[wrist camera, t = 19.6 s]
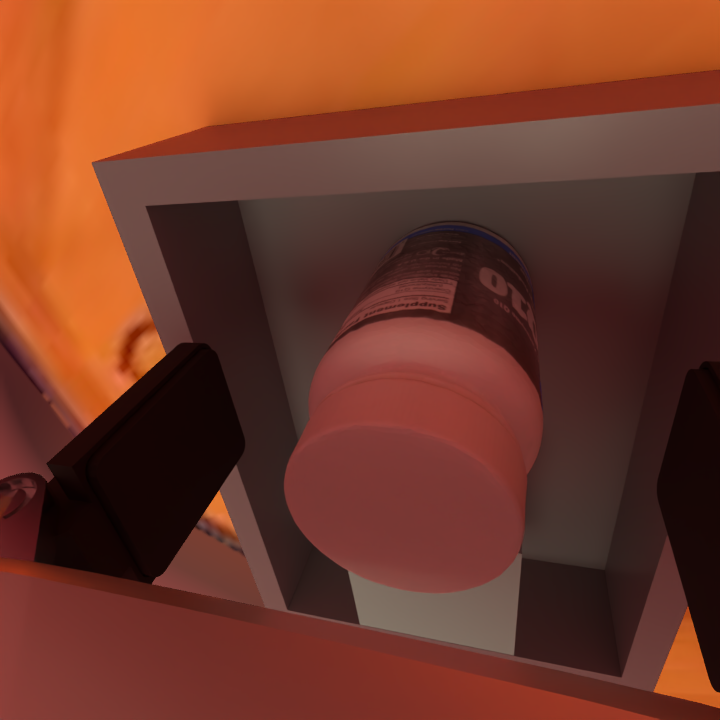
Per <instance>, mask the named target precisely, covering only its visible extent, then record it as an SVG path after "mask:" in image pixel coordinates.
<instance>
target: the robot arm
mask: <svg viewBox="0 0 720 720" xmlns="http://www.w3.org/2000/svg"><path fill="white" fill-rule="evenodd" d="M244 450H245V437H244V434H243V431H242V428H241V425H240V422H239V419H238V416H237V413H236V410H235V407H234V403H233V400H232V397H231V394H230V391H229V388H228V385H227V382H226V379H225V376H224V373H223V370H222V367H221V363H220V360H219V357H218V355H217V353H216V352H215V351H214V350H212V349H211V347H210V346H209V345H208V344H206V343H188V342H184V343H180V344H178V345H177V346H176V347H175V348H174V349H173V350H172V351H170V352H169V353H168V354H167V355H166V356H165V357H164V358H163V359H162V360H160V361H159V362H158V363H157V364H156V365H155V366H154V367H153V368H152V369H151V370H149V371H148V372H147V373H146V374H145V375H144V376H143V377H142V378H141V379H139V380H138V381H137V382H136V383H135V384H134V385H133V386H132V387H131V388H129V389H128V390H127V391H126V392H125V393H124V394H123V395H122V396H121V397H120V398H118V399H117V400H116V401H115V402H114V403H113V404H112V405H111V406H110V407H108V408H107V409H106V410H105V411H104V412H103V413H102V414H101V415H100V416H98V417H97V418H96V419H95V420H94V421H93V422H92V423H91V424H90V425H89V426H87V427H86V428H85V429H84V430H83V431H82V432H81V433H80V434H79V435H77V436H76V437H75V438H74V439H73V440H72V441H71V442H70V443H69V444H68V445H67V446H65V447H64V448H63V449H62V450H61V451H60V452H59V453H57V454H56V455H55V456H54V457H53V458H52V459H51V460H50V461H49V462H48V463H47V465H48V467H49V468H50V470H51V472H52V473H53V475H54V478H53V479H52V480H51V481H50V482H49V483H47V481H46V480H45V478H44V477H43V476H42V475H40V474H37V473H33V472H28V473H19V474H16V475H12V476H8V477H6V478H3V479H1V480H0V720H720V709H719V708H716V707H712V706H708V705H705V704H701V703H697V702H693V701H688V700H684V699H680V698H676V697H671V696H667V695H663V694H658V693H654V692H650V691H645V690H641V689H637V688H632V687H628V686H624V685H620V684H615V683H611V682H607V681H602V680H598V679H594V678H589V677H585V676H581V675H576V674H572V673H568V672H563V671H559V670H554V669H550V668H545V667H540V666H536V665H531V664H526V663H522V662H517V661H513V660H508V659H503V658H499V657H494V656H489V655H485V654H480V653H475V652H471V651H466V650H461V649H457V648H452V647H448V646H443V645H438V644H434V643H429V642H424V641H420V640H415V639H410V638H406V637H401V636H397V635H392V634H387V633H383V632H378V631H373V630H368V629H364V628H359V627H354V626H349V625H345V624H340V623H335V622H330V621H326V620H321V619H316V618H311V617H307V616H302V615H297V614H292V613H288V612H283V611H278V610H273V609H269V608H263V607H259V606H254V605H249V604H245V603H240V602H235V601H230V600H226V599H221V598H216V597H211V596H206V595H201V594H196V593H192V592H186V591H181V590H177V589H172V588H167V587H162V586H157V585H152V582H153V581H154V579H155V578H156V577H158V576H160V575H162V574H163V573H164V572H165V570H166V569H167V567H168V566H169V564H170V563H171V561H172V560H173V558H174V557H175V555H176V554H177V552H178V551H179V549H180V548H181V546H182V545H183V543H184V542H185V540H186V539H187V537H188V536H189V534H190V533H191V531H192V530H193V528H194V527H195V525H196V524H197V522H198V521H199V519H200V518H201V516H202V515H203V513H204V512H205V510H206V509H207V507H208V506H209V504H210V503H211V501H212V500H213V498H214V497H215V495H216V494H217V492H218V491H219V489H220V488H221V486H222V485H223V483H224V482H225V480H226V479H227V477H228V476H229V474H230V473H231V471H232V470H233V468H234V467H235V465H236V464H237V462H238V461H239V459H240V458H241V456H242V455H243V453H244ZM657 498H658V502H659V506H660V509H661V513H662V516H663V520H664V523H665V527H666V530H667V534H668V537H669V541H670V544H671V548H672V551H673V555H674V558H675V562H676V565H677V569H678V572H679V576H680V579H681V583H682V586H683V590H684V593H685V597H686V600H687V603H688V607H689V610H690V614H691V617H692V621H693V624H694V628H695V631H696V635H697V638H698V642H699V645H700V649H701V652H702V656H703V659H704V663H705V666H706V670H707V673H708V677H709V680H710V682H711V685H712V687H713V689H714V690H715V691H716V692H720V362H718V361H704V362H703V363H702V364H701V365H700V367H699V369H690V370H688V372H687V374H686V377H685V380H684V384H683V388H682V391H681V395H680V399H679V402H678V406H677V410H676V414H675V417H674V421H673V425H672V428H671V432H670V436H669V439H668V443H667V447H666V450H665V454H664V458H663V461H662V465H661V469H660V472H659V476H658V480H657Z"/></svg>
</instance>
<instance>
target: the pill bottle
mask: <svg viewBox="0 0 720 720" xmlns="http://www.w3.org/2000/svg"><path fill="white" fill-rule="evenodd" d="M308 406H309V418H310V419H309V421H308V423H307V425H306V427H305V429H304V431H303V433H302V435H301V437H300V439H299V441H298V443H297V445H296V447H295V449H294V451H293V453H292V455H291V457H290V459H289V462H288V464H287V468H286V472H285V478H284V492H285V498H286V502H287V505H288V508H289V510H290V513H291V515H292V517H293V519H294V521H295V523H296V524H297V526H298V527H299V529H300V530H301V531H302V533H303V534H304V535H305V537H306V538H307V539H308V540H309V541H310V542H311V543H312V544H313V545H314V546H315V547H316V548H317V549H318V550H319V551H321V552H322V553H323V554H324V555H326V556H327V557H328V558H330V559H331V560H332V561H334V562H335V563H337V564H338V565H339V566H341V567H343V568H345V569H346V570H348V571H350V572H352V573H354V574H356V575H358V576H360V577H362V578H365V579H367V580H369V581H372V582H375V583H378V584H382V585H386V586H388V587H392V588H396V589H401V590H405V591H412V592H420V593H433V594H434V593H454V592H458V591H464V590H468V589H471V588H475V587H478V586H481V585H483V584H485V583H487V582H489V581H491V580H493V579H495V578H497V577H498V576H500V575H501V574H502V573H503V572H504V571H505V570H506V569H507V568H508V567H509V566H510V565H511V564H512V563H513V562H514V560H515V558H516V556H517V554H518V553H519V550H520V548H521V545H522V542H523V537H524V530H525V503H526V490H527V474H528V473H529V471H530V469H531V468H532V466H533V464H534V462H535V460H536V458H537V455H538V452H539V449H540V445H541V440H542V433H543V404H542V390H541V382H540V370H539V357H538V342H537V330H536V317H535V303H534V294H533V287H532V282H531V279H530V276H529V272H528V270H527V268H526V266H525V264H524V262H523V260H522V259H521V257H520V256H519V254H518V253H517V252H516V250H515V249H514V248H513V247H512V246H511V245H510V244H509V243H508V242H506V241H505V240H504V239H502V238H501V237H499V236H498V235H496V234H494V233H492V232H490V231H488V230H486V229H484V228H481V227H479V226H476V225H472V224H468V223H461V222H444V223H436V224H432V225H428V226H424V227H421V228H419V229H416V230H414V231H412V232H410V233H408V234H407V235H405V236H404V237H402V238H401V239H399V240H398V241H397V242H396V243H395V244H394V245H393V246H392V247H391V248H390V249H389V250H388V251H387V252H386V254H385V255H384V256H383V258H382V259H381V261H380V262H379V264H378V266H377V267H376V269H375V271H374V273H373V275H372V276H371V278H370V280H369V281H368V283H367V285H366V287H365V288H364V290H363V292H362V293H361V295H360V297H359V298H358V300H357V302H356V304H355V305H354V307H353V308H352V310H351V312H350V313H349V315H348V317H347V318H346V320H345V322H344V323H343V325H342V327H341V329H340V330H339V331H338V333H337V335H336V337H335V338H334V340H333V342H332V343H331V345H330V347H329V348H328V350H327V351H326V353H325V355H324V356H323V358H322V360H321V361H320V363H319V365H318V367H317V369H316V371H315V374H314V377H313V380H312V383H311V387H310V391H309V399H308Z"/></svg>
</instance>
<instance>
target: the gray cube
mask: <svg viewBox="0 0 720 720" xmlns="http://www.w3.org/2000/svg"><path fill="white" fill-rule="evenodd" d="M521 560H522V545H521V548H520V550H519V553H518V554H517V556H516V558H515V560H514V562H513V563H512V564H511V565H510V566H509V567H508V568H507V569H506V570H505V571H504V572H503V573H502V574H501V575H500V576H498V577H497V578H495V579H493V580H491V581H489V582H487V583H485V584H483V585H481V586H478V587H475V588H471V589H468V590H464V591H458V592H454V593H434V594H433V593H420V592H412V591H405V590H401V589H396V588H392V587H388V586H386V585H382V584H378V583H375V582H372V581H369V580H367V579H365V578H362V577H360V576H358V575H356V574H354V573H352V572H350V571H348V573H349V577H350V582H351V586H352V591H353V595H354V600H355V604H356V609H357V613H358V618H359V622H360V625H365V626H370V627H375V628H380V629H385V630H390V631H395V632H400V633H405V634H410V635H415V636H419V637H424V638H429V639H434V640H439V641H444V642H449V643H454V644H459V645H464V646H469V647H474V648H479V649H484V650H489V651H494V652H499V653H504V654H509V655H514V648H515V635H516V623H517V610H518V598H519V585H520V573H521Z"/></svg>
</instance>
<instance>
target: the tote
mask: <svg viewBox="0 0 720 720" xmlns="http://www.w3.org/2000/svg"><path fill="white" fill-rule="evenodd" d="M92 165H93V168H94V170H95V173H96V175H97V178H98V180H99V183H100V186H101V188H102V191H103V193H104V196H105V198H106V201H107V203H108V206H109V209H110V211H111V214H112V216H113V219H114V221H115V224H116V227H117V229H118V232H119V234H120V237H121V239H122V242H123V244H124V247H125V250H126V252H127V255H128V257H129V260H130V262H131V265H132V267H133V270H134V273H135V275H136V278H137V280H138V283H139V285H140V288H141V290H142V293H143V296H144V298H145V301H146V303H147V306H148V308H149V311H150V313H151V316H152V319H153V321H154V324H155V326H156V329H157V331H158V334H159V337H160V339H161V342H162V344H163V347H164V349H165V352H166V354H168V353H169V352H170V351H172V350H173V349H174V348H175V347H176V346H177V345H178V344H180V343H184V342H188V343H206V344H208V345H209V346H210V347H211V349H212V350H214V351H215V352H216V353H217V355H218V357H219V360H220V363H221V367H222V370H223V373H224V376H225V379H226V382H227V385H228V388H229V391H230V394H231V397H232V400H233V403H234V407H235V410H236V413H237V416H238V419H239V422H240V425H241V428H242V431H243V434H244V437H245V450H244V453H243V455H242V456H241V458H240V459H239V461H238V462H237V464H236V465H235V467H234V468H233V470H232V471H231V473H230V474H229V476H228V477H227V479H226V480H225V482H224V483H223V485H222V486H221V488H220V489H219V490H220V493H221V495H222V498H223V500H224V503H225V505H226V508H227V510H228V513H229V516H230V518H231V521H232V523H233V526H234V528H235V531H236V533H237V536H238V539H239V541H240V544H241V546H242V549H243V551H244V554H245V556H246V559H247V562H248V564H249V567H250V569H251V572H252V574H253V577H254V580H255V582H256V585H257V587H258V590H259V592H260V595H261V597H262V600H263V603H264V605H265V608H269V609H273V610H278V611H283V612H288V613H292V614H297V615H302V616H307V617H311V618H316V619H321V620H326V621H330V622H335V623H340V624H345V625H349V626H354V627H359V628H364V629H368V630H373V631H378V632H383V633H387V634H392V635H397V636H401V637H406V638H410V639H415V640H420V641H424V642H429V643H434V644H438V645H443V646H448V647H452V648H457V649H461V650H466V651H471V652H475V653H480V654H485V655H489V656H494V657H499V658H503V659H508V660H513V661H517V662H522V663H526V664H531V665H536V666H540V667H545V668H550V669H554V670H559V671H563V672H568V673H572V674H576V675H581V676H585V677H589V678H594V679H598V680H602V681H607V682H611V683H615V684H620V685H624V686H628V687H632V688H637V689H641V690H645V691H650V692H653V691H654V689H655V686H656V684H657V681H658V679H659V676H660V674H661V671H662V669H663V666H664V664H665V661H666V659H667V656H668V654H669V651H670V649H671V646H672V644H673V641H674V639H675V636H676V634H677V631H678V629H679V626H680V624H681V621H682V619H683V616H684V614H685V611H686V609H687V606H688V603H687V600H686V597H685V593H684V590H683V586H682V583H681V579H680V576H679V572H678V569H677V565H676V562H675V558H674V555H673V551H672V548H671V544H670V541H669V537H668V534H667V530H666V527H665V523H664V520H663V516H662V513H661V509H660V506H659V502H658V498H657V480H658V476H659V472H660V469H661V465H662V461H663V458H664V454H665V450H666V447H667V443H668V439H669V436H670V432H671V428H672V425H673V421H674V417H675V414H676V410H677V406H678V402H679V399H680V395H681V391H682V388H683V384H684V380H685V377H686V374H687V372H688V370H690V369H699V367H700V365H701V364H702V363H703V362H704V361H718V362H720V70H713V71H704V72H695V73H686V74H677V75H668V76H659V77H650V78H641V79H632V80H623V81H614V82H605V83H596V84H587V85H578V86H569V87H560V88H551V89H542V90H533V91H524V92H515V93H506V94H497V95H488V96H479V97H470V98H461V99H452V100H443V101H434V102H425V103H416V104H407V105H398V106H389V107H380V108H371V109H362V110H353V111H344V112H335V113H326V114H317V115H308V116H299V117H290V118H281V119H272V120H263V121H253V122H244V123H235V124H226V125H217V126H208V127H204V128H201V129H198V130H195V131H191V132H188V133H185V134H182V135H179V136H175V137H172V138H169V139H166V140H163V141H159V142H156V143H153V144H150V145H146V146H143V147H140V148H137V149H134V150H130V151H127V152H124V153H121V154H117V155H114V156H111V157H108V158H105V159H101V160H98V161H95V162H92ZM444 222H461V223H468V224H472V225H476V226H479V227H481V228H484V229H486V230H488V231H490V232H492V233H494V234H496V235H498V236H499V237H501V238H502V239H504V240H505V241H506V242H508V243H509V244H510V245H511V246H512V247H513V248H514V249H515V250H516V252H517V253H518V254H519V256H520V257H521V259H522V260H523V262H524V264H525V266H526V268H527V270H528V272H529V276H530V279H531V282H532V287H533V294H534V303H535V317H536V330H537V342H538V357H539V370H540V382H541V390H542V404H543V433H542V440H541V445H540V449H539V452H538V455H537V458H536V460H535V462H534V464H533V466H532V468H531V469H530V471H529V473H528V474H527V490H526V503H525V530H524V537H523V542H522V560H521V573H520V585H519V598H518V610H517V623H516V635H515V648H514V655H509V654H504V653H499V652H494V651H489V650H484V649H479V648H474V647H469V646H464V645H459V644H454V643H449V642H444V641H439V640H434V639H429V638H424V637H419V636H415V635H410V634H405V633H400V632H395V631H390V630H385V629H380V628H375V627H370V626H365V625H360V622H359V618H358V613H357V609H356V604H355V600H354V595H353V591H352V586H351V582H350V577H349V573H348V570H346V569H345V568H343V567H341V566H339V565H338V564H337V563H335V562H334V561H332V560H331V559H330V558H328V557H327V556H326V555H324V554H323V553H322V552H321V551H319V550H318V549H317V548H316V547H315V546H314V545H313V544H312V543H311V542H310V541H309V540H308V539H307V538H306V537H305V535H304V534H303V533H302V531H301V530H300V529H299V527H298V526H297V524H296V523H295V521H294V519H293V517H292V515H291V513H290V510H289V508H288V505H287V502H286V498H285V492H284V478H285V472H286V468H287V464H288V462H289V459H290V457H291V455H292V453H293V451H294V449H295V447H296V445H297V443H298V441H299V439H300V437H301V435H302V433H303V431H304V429H305V427H306V425H307V423H308V421H309V419H310V418H309V406H308V399H309V391H310V387H311V383H312V380H313V377H314V374H315V371H316V369H317V367H318V365H319V363H320V361H321V360H322V358H323V356H324V355H325V353H326V351H327V350H328V348H329V347H330V345H331V343H332V342H333V340H334V338H335V337H336V335H337V333H338V331H339V330H340V329H341V327H342V325H343V323H344V322H345V320H346V318H347V317H348V315H349V313H350V312H351V310H352V308H353V307H354V305H355V304H356V302H357V300H358V298H359V297H360V295H361V293H362V292H363V290H364V288H365V287H366V285H367V283H368V281H369V280H370V278H371V276H372V275H373V273H374V271H375V269H376V267H377V266H378V264H379V262H380V261H381V259H382V258H383V256H384V255H385V254H386V252H387V251H388V250H389V249H390V248H391V247H392V246H393V245H394V244H395V243H396V242H397V241H398V240H399V239H401V238H402V237H404V236H405V235H407V234H408V233H410V232H412V231H414V230H416V229H419V228H421V227H424V226H428V225H432V224H436V223H444Z"/></svg>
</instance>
